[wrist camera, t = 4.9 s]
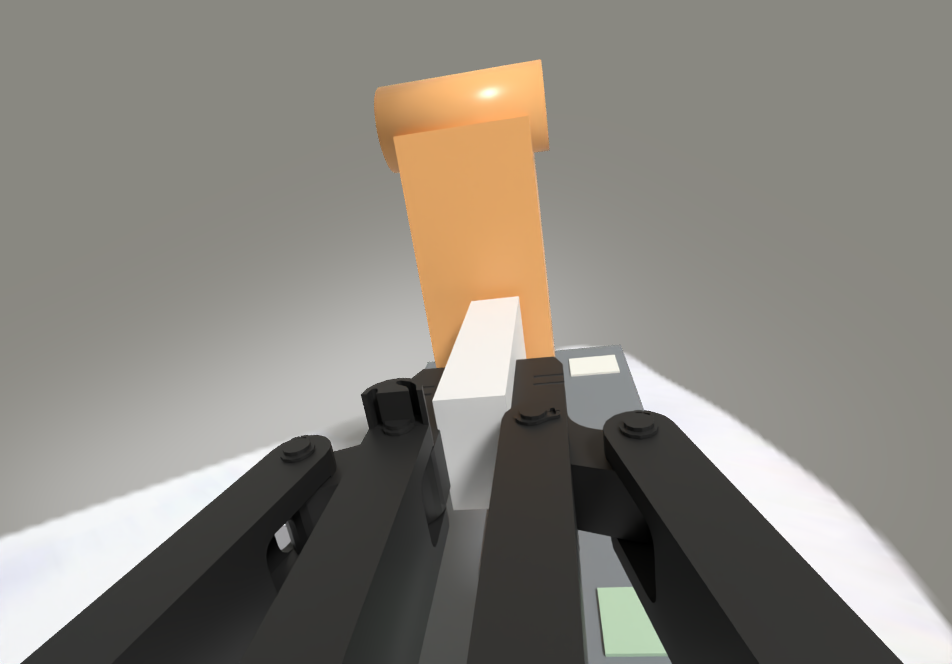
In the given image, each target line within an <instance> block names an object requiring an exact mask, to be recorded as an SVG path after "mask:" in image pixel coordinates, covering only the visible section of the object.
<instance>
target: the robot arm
mask: <svg viewBox="0 0 952 664" xmlns="http://www.w3.org/2000/svg"><path fill="white" fill-rule="evenodd" d="M361 397H362V401H363V405H364V409H365V414H366V418H367V422H368V426H369V430H368V432H367V434H366V436H365V438H364V439H363V441H362V443H361V445H357V446H354V447H350V448H346V449H342V450H338V451H334V452H333V449H332V445H331V442H330V440H328V439H327V438H326V437H324V436H320V435H304V436H301V437H295V438H292V439H291V440H290V441H287V442H285V443H283V444H281V445H280V446H278V447H277V448H275V449H274V450H272V451H271V452H270V453H269V454H268V455H266V456H265V457H264V458H263V459H262V460H261V461H259V462H258V463H257V464H256V465H255V466H253V467H252V468H251V469H250V470H249V471H248V472H246V473H245V474H244V475H243V476H242V477H240V478H239V479H238V480H237V481H236V482H234V483H233V484H232V485H231V486H230V487H229V488H227V489H226V490H225V491H224V492H223V493H221V494H220V495H219V496H218V497H217V498H216V499H214V500H213V501H212V502H211V503H210V504H208V505H207V506H206V507H205V508H204V509H203V510H201V511H200V512H199V513H198V514H197V515H195V516H194V517H193V518H192V519H191V520H190V521H188V522H187V523H186V524H185V525H184V526H182V527H181V528H180V529H179V530H178V531H177V532H175V533H174V534H173V535H172V536H171V537H169V538H168V539H167V540H166V541H165V542H164V543H162V544H161V545H160V546H159V547H158V548H156V549H155V550H154V551H153V552H152V553H151V554H149V555H148V556H147V557H146V558H145V559H143V560H142V561H141V562H140V563H139V564H138V565H136V566H135V567H134V568H133V569H132V570H130V571H129V572H128V573H127V574H126V575H124V576H123V577H122V578H121V579H120V580H119V581H117V582H116V583H115V584H114V585H113V586H111V587H110V588H109V589H108V590H107V591H106V592H104V593H103V594H102V595H101V596H100V597H98V598H97V599H96V600H95V601H94V602H93V603H91V604H90V605H89V606H88V607H87V608H85V609H84V610H83V611H82V612H81V613H80V614H78V615H77V616H76V617H75V618H74V619H72V620H71V621H70V622H69V623H68V624H67V625H65V626H64V627H63V628H62V629H61V630H59V631H58V632H57V633H56V634H55V635H54V636H52V637H51V638H50V639H49V640H48V641H46V642H45V643H44V644H43V645H42V646H41V647H39V648H38V649H37V650H36V651H35V652H33V653H32V654H31V655H30V656H29V657H28V658H26V659H25V660H24V661H23V662H22V663H20V664H418V663H419V659H420V654H421V650H422V646H423V641H424V637H425V632H426V628H427V623H428V619H429V615H430V610H431V606H432V601H433V597H434V592H435V588H436V583H437V579H438V575H439V570H440V566H441V561H442V557H443V552H444V548H445V544H446V539H447V535H448V530H449V516H448V511H447V506H446V503H447V499H448V495H449V491H450V495H451V500H452V505H453V510H470V509H489V511H488V518H487V524H486V531H485V538H484V545H483V552H482V559H481V566H480V573H479V580H478V587H477V594H476V601H475V608H474V615H473V622H472V629H471V636H470V643H469V650H468V657H467V664H589V663H588V651H587V638H586V626H585V613H584V601H583V589H582V576H581V564H580V545H579V535H578V530H581V531H586V532H591V533H596V534H600V535H605V536H610V537H611V541H612V546H613V549H614V551H615V553H616V555H617V557H618V559H619V561H620V563H621V565H622V567H623V569H624V571H625V573H626V575H627V576H628V578H629V580H630V582H631V584H632V586H633V588H634V590H635V592H636V594H637V596H638V598H639V600H640V602H641V604H642V606H643V608H644V610H645V612H646V614H647V616H648V618H649V620H650V622H651V624H652V626H653V628H654V630H655V631H656V633H657V635H658V637H659V639H660V641H661V643H662V645H663V647H664V649H665V651H666V653H667V655H668V657H669V659H670V661H671V663H672V664H903V663H902V661H901V660H900V659H899V658H898V657H897V656H896V655H895V654H894V653H893V652H892V651H891V650H890V649H889V648H888V647H887V646H886V645H885V644H884V643H883V642H882V640H881V639H880V638H879V637H878V636H877V635H876V634H875V633H874V632H873V631H872V630H871V629H870V628H869V627H868V626H867V625H866V624H865V623H864V622H863V620H862V619H861V618H860V617H859V616H858V615H857V614H856V613H855V612H854V611H853V610H852V609H851V608H850V607H849V606H848V605H847V604H846V603H845V602H844V601H843V599H842V598H841V597H840V596H839V595H838V594H837V593H836V592H835V591H834V590H833V589H832V588H831V587H830V586H829V585H828V584H827V583H826V582H825V581H824V580H823V578H822V577H821V576H820V575H819V574H818V573H817V572H816V571H815V570H814V569H813V568H812V567H811V566H810V565H809V564H808V563H807V562H806V561H805V560H804V558H803V557H802V556H801V555H800V554H799V553H798V552H797V551H796V550H795V549H794V548H793V547H792V546H791V545H790V544H789V543H788V542H787V541H786V540H785V539H784V537H783V536H782V535H781V534H780V533H779V532H778V531H777V530H776V529H775V528H774V527H773V526H772V525H771V524H770V523H769V522H768V521H767V520H766V519H765V517H764V516H763V515H762V514H761V513H760V512H759V511H758V510H757V509H756V508H755V507H754V506H753V505H752V504H751V503H750V502H749V501H748V500H747V499H746V498H745V496H744V495H743V494H742V493H741V492H740V491H739V490H738V489H737V488H736V487H735V486H734V485H733V484H732V483H731V482H730V481H729V480H728V479H727V478H726V477H725V475H724V474H723V473H722V472H721V471H720V470H719V469H718V468H717V467H716V466H715V465H714V464H713V463H712V462H711V461H710V460H709V459H708V458H707V457H706V455H705V454H704V453H703V452H702V451H701V450H700V449H699V448H698V447H697V446H696V445H695V444H694V443H693V442H692V441H691V440H690V439H689V438H688V437H687V436H686V434H685V433H684V432H683V431H682V430H681V429H680V428H679V427H678V426H677V425H676V424H675V423H674V422H673V421H672V420H670V419H669V418H667V417H666V416H664V415H661V414H658V413H655V412H651V411H646V410H644V411H643V410H634V411H627V412H623V413H620V414H616V415H614V416H612V417H611V418H609V419H608V420H606V422H605V424H604V426H603V430H600V429H593V428H588V427H585V426H582V425H579V424H577V423H575V422H574V421H572V420H571V419H570V418H569V416H568V412H567V402H566V391H565V381H564V371H563V364H562V363H561V362H560V361H559V360H558V359H557V358H555V357H554V356H552V357H541V358H530V359H526V351H525V343H524V335H523V327H522V319H521V311H520V302H519V296H516V297H506V298H497V299H487V300H478V301H471V303H470V306H469V308H468V311H467V313H466V316H465V319H464V321H463V324H462V326H461V329H460V331H459V334H458V336H457V339H456V342H455V344H454V347H453V349H452V352H451V354H450V357H449V359H448V362H447V364H446V367H443V368H431V369H423V370H422V371H421V372H419V373H418V374H417V375H415V376H414V377H413V378H412V379H410V378H397V379H391V380H386V381H384V382H381V383H377V384H375V385H373V386H371V387H369V388H368V389H366V390H365V391H364V392H363V393H362V394H361ZM284 524H286V527H287V531H288V534H289V537H290V540H291V542H290V543H289V544H288V545H287V546H286V547H285V548H283V549H282V550H281V549H280V548H279V546H278V543H277V540H276V537H275V533H276V532H277V531H278V530H279V529H280V528H281V527H282V526H283V525H284Z"/></svg>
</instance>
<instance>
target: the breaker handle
mask: <svg viewBox="0 0 952 664" xmlns="http://www.w3.org/2000/svg"><path fill="white" fill-rule="evenodd" d="M374 111H375V121H376V128H377V133H378V138H379V142H380V146H381V149H382V152H383V155H384V158H385V160H386V162H387V164H388V166H389V168H390V169H391V171H392V172H394V173H399V172H400V176H401V182H402V187H403V192H404V198H405V203H406V209H407V214H408V219H409V225H410V230H411V235H412V240H413V246H414V251H415V257H416V261H417V267H418V272H419V278H420V283H421V288H422V294H423V299H424V304H425V310H426V315H427V320H428V326H429V331H430V337H431V342H432V347H433V353H434V358H435V363H436V368H443V367H446V364H447V362H448V359H449V357H450V354H451V352H452V349H453V347H454V344H455V342H456V339H457V336H458V334H459V331H460V329H461V326H462V324H463V321H464V319H465V316H466V313H467V311H468V308H469V306H470V303H471V301H478V300H487V299H497V298H506V297H516V296H519V302H520V311H521V319H522V327H523V335H524V343H525V351H526V359H530V358H541V357H552V356H554V357H555V349H554V339H553V330H552V320H551V310H550V301H549V291H548V282H547V272H546V263H545V253H544V243H543V234H542V224H541V215H540V205H539V196H538V185H537V177H536V166H535V157H534V153H535V152H542V151H548V150H549V138H548V126H547V115H546V105H545V94H544V84H543V75H542V65H541V60H534V61H529V62H522V63H517V64H511V65H505V66H499V67H493V68H488V69H482V70H476V71H470V72H465V73H459V74H454V75H447V76H441V77H436V78H430V79H424V80H419V81H412V82H407V83H401V84H395V85H390V86H383V87H378V88H377V90H376V92H375V98H374Z"/></svg>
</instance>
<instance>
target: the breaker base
mask: <svg viewBox="0 0 952 664" xmlns="http://www.w3.org/2000/svg"><path fill="white" fill-rule="evenodd" d="M555 358H557V359H558V360H559V361H560V362H561V363H562V364H563V371H564V381H565V391H566V402H567V412H568V416H569V418H570V419H571V420H572V421H574V422H575V423H577V424H579V425H582V426H585V427H588V428H593V429H600V430H603V426H604V424H605V422H606V420H608V419H609V418H611V417H612V416H614V415H616V414H620V413H623V412H627V411H634V410H643V411H644V409H643V406H642V403H641V400H640V397H639V395H638V392H637V389H636V386H635V384H634V381H633V378H632V375H631V372H630V370H629V367H628V364H627V361H626V359H625V356H624V353H623V350H622V348H621V345H613V346H601V347H590V348H579V349H569V350H558V351H555ZM431 368H436V363H435V362H428V364H427V366H426V368H425V369H431ZM446 506H447V511H448V516H449V530H448V535H447V539H446V544H445V548H444V552H443V557H442V561H441V566H440V570H439V575H438V579H437V583H436V588H435V592H434V597H433V601H432V606H431V610H430V615H429V619H428V623H427V628H426V632H425V637H424V641H423V646H422V650H421V654H420V659H419V663H418V664H467V657H468V650H469V643H470V636H471V629H472V622H473V615H474V608H475V601H476V594H477V587H478V580H479V573H480V566H481V559H482V552H483V545H484V538H485V531H486V524H487V518H488V511H489V509H470V510H453V505H452V500H451V495H450V491H449V495H448V499H447V503H446ZM578 535H579V545H580V564H581V576H582V589H583V601H584V613H585V626H586V638H587V651H588V663H589V664H672V663H671V661H670V659H669V657H668V655H667V653H666V651H665V649H664V647H663V645H662V643H661V641H660V639H659V637H658V635H657V633H656V631H655V630H654V628H653V626H652V624H651V622H650V620H649V618H648V616H647V614H646V612H645V610H644V608H643V606H642V604H641V602H640V600H639V598H638V596H637V594H636V592H635V590H634V588H633V586H632V584H631V582H630V580H629V578H628V576H627V575H626V573H625V571H624V569H623V567H622V565H621V563H620V561H619V559H618V557H617V555H616V553H615V551H614V549H613V546H612V541H611V537H610V536H605V535H600V534H596V533H591V532H586V531H581V530H578Z"/></svg>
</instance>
